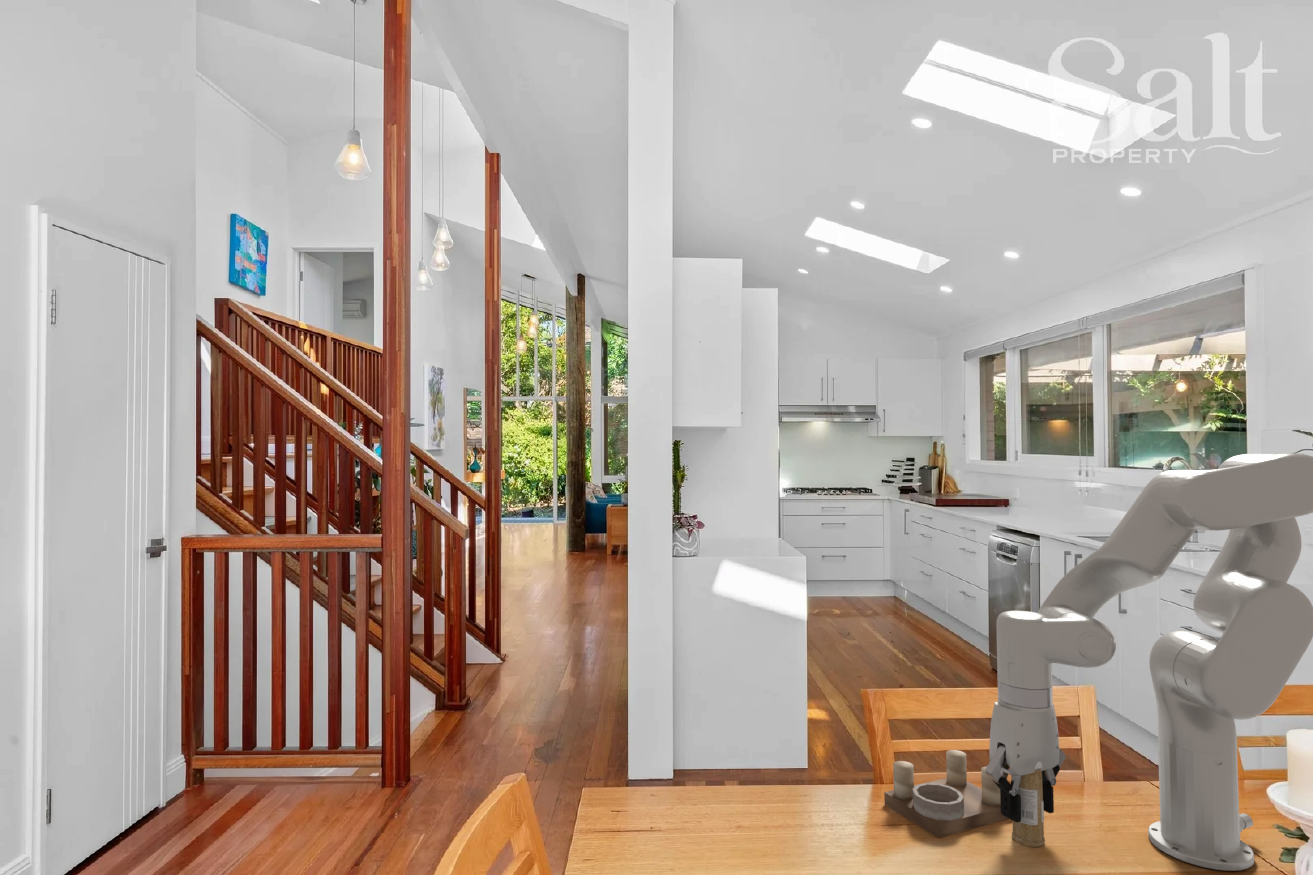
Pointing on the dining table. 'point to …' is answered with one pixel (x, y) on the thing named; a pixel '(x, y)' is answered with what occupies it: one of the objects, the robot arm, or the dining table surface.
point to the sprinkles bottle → (1030, 810)
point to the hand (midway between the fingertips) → (1027, 812)
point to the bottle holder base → (945, 798)
